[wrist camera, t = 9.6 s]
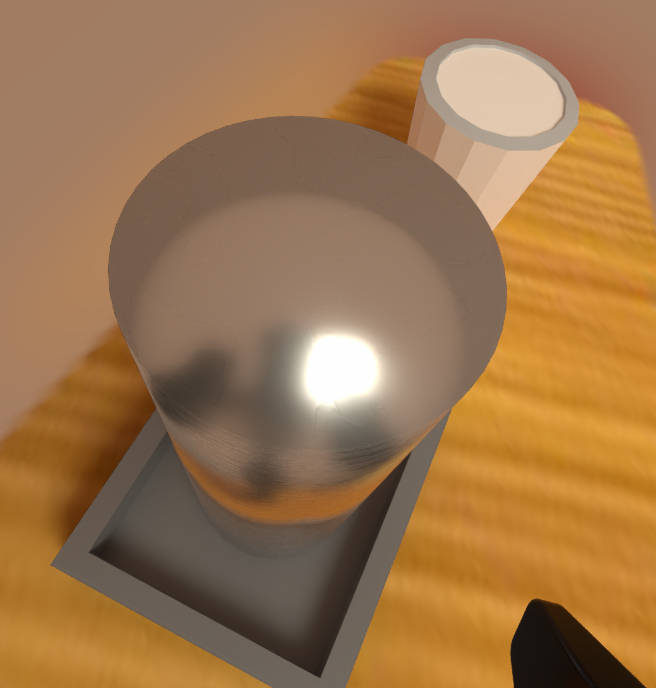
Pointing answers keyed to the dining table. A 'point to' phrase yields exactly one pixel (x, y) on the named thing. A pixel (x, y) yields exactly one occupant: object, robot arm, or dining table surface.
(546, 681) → the robot arm
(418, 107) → the white cup
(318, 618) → the tray
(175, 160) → the silver metal cylinder
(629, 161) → the dining table surface
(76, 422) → the dining table surface
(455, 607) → the dining table surface
